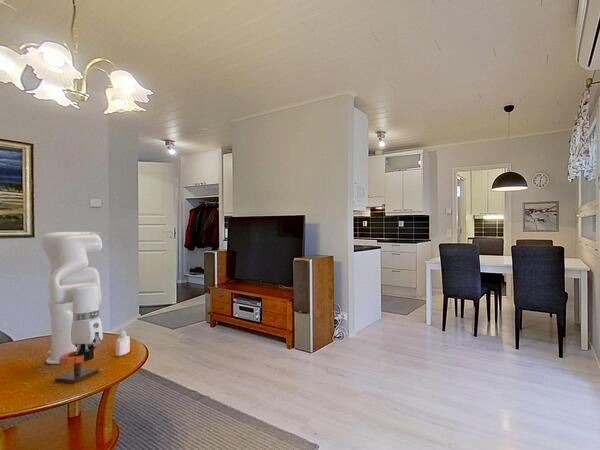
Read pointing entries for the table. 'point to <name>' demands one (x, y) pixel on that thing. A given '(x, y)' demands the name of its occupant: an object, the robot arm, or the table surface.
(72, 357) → the ring
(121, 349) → the eye dropper bottle
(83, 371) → the post
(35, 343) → the table surface
